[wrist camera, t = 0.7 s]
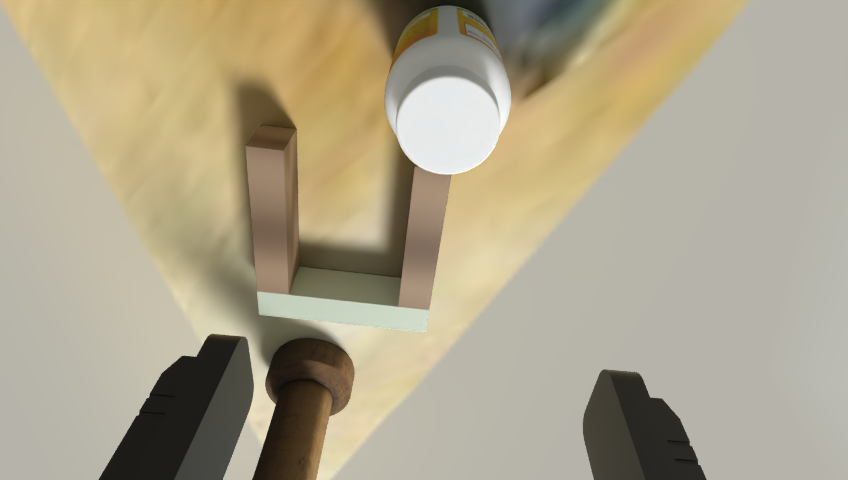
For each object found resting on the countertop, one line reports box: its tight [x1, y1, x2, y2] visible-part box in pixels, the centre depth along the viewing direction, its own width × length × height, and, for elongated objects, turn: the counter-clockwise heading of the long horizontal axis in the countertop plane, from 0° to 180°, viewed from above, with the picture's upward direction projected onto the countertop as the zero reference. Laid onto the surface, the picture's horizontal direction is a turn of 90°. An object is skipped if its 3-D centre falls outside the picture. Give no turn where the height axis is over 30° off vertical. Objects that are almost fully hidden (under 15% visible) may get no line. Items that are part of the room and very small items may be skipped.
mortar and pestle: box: [252, 339, 354, 480], centre depth 34 cm, size 7×6×18 cm
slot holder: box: [245, 125, 451, 333], centre depth 32 cm, size 12×11×3 cm
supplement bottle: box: [384, 6, 511, 174], centre depth 24 cm, size 5×5×10 cm
